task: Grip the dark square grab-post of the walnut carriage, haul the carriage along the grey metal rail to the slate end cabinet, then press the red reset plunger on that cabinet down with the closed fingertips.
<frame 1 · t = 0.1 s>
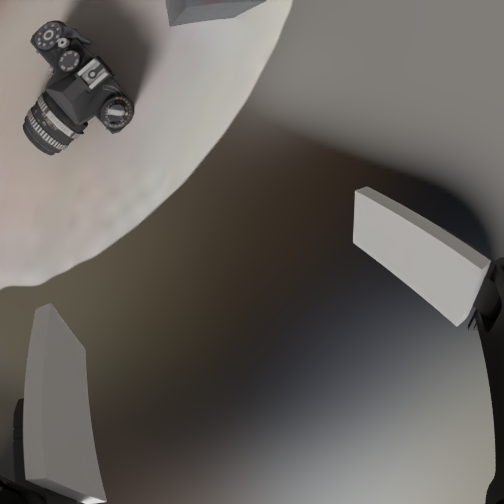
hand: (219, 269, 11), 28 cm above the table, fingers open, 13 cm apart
camera: (72, 95, 26), on the table
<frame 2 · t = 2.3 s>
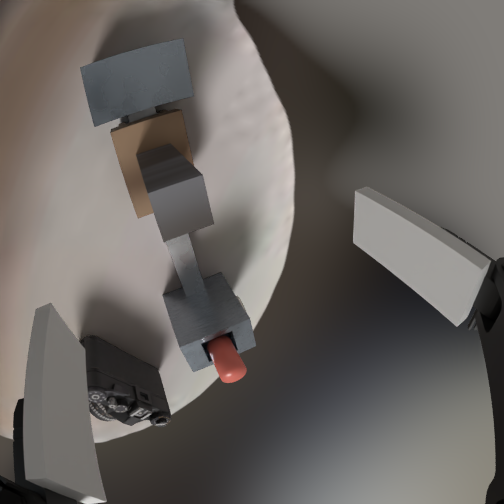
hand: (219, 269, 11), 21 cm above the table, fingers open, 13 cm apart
carriage: (162, 173, 21), point 8 cm above the table, slide at 0.0 cm
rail: (166, 206, 31), on the table
plunger: (226, 359, 30), point 11 cm above the table, slide at 0.0 cm
camera: (109, 368, 39), on the table
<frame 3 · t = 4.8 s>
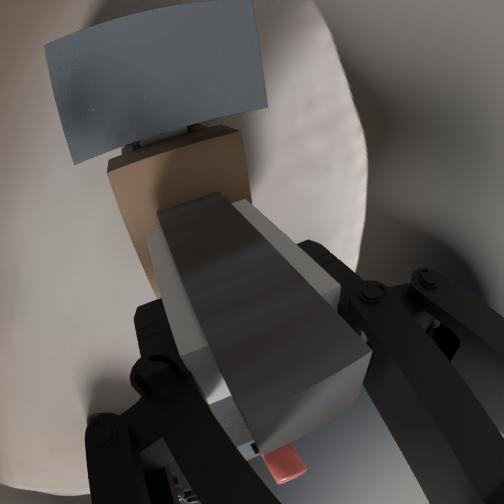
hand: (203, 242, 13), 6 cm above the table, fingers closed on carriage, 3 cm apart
carriage: (212, 257, 12), point 8 cm above the table, slide at 0.0 cm, touching gripper
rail: (198, 270, 21), on the table
plunger: (280, 457, 21), point 11 cm above the table, slide at 0.0 cm
camera: (125, 438, 29), on the table
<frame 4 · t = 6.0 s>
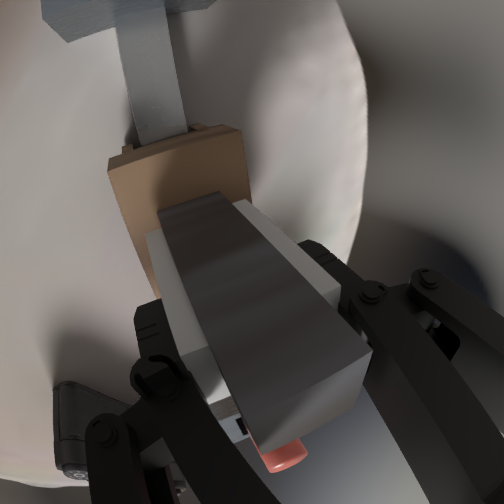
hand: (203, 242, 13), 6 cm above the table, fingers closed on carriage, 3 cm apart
carriage: (212, 257, 12), point 8 cm above the table, slide at 6.1 cm, touching gripper
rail: (175, 193, 18), on the table
plunger: (274, 438, 17), point 11 cm above the table, slide at 0.0 cm
camera: (99, 417, 26), on the table
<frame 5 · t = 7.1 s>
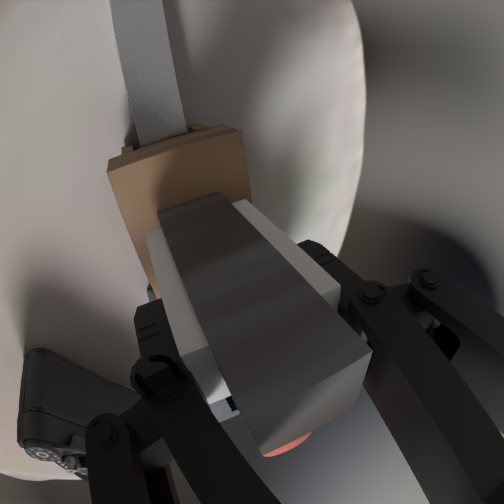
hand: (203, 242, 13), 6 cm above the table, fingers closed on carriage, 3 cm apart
carriage: (212, 257, 12), point 8 cm above the table, slide at 11.0 cm, touching gripper
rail: (155, 118, 15), on the table
plunger: (268, 411, 14), point 11 cm above the table, slide at 0.0 cm
camera: (77, 396, 23), on the table
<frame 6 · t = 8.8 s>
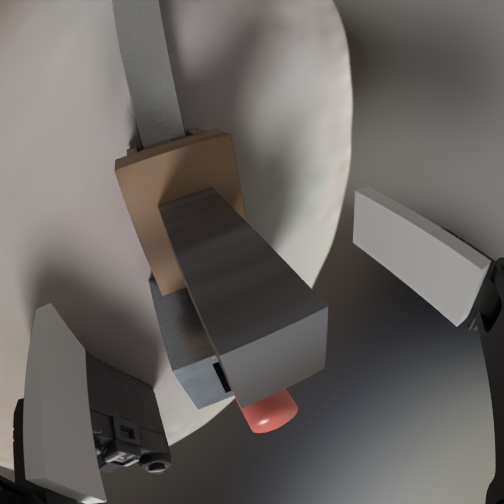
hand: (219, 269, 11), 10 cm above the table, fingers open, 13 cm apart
carriage: (205, 243, 14), point 8 cm above the table, slide at 11.0 cm
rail: (157, 123, 17), on the table
plunger: (258, 390, 16), point 11 cm above the table, slide at 0.0 cm
camera: (81, 383, 24), on the table
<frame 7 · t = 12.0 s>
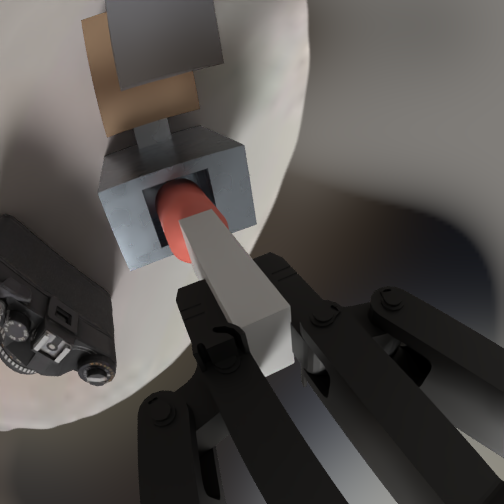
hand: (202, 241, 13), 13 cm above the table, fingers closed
carriage: (143, 56, 12), point 8 cm above the table, slide at 11.0 cm
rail: (125, 12, 15), on the table
plunger: (187, 216, 15), point 10 cm above the table, slide at 0.7 cm, touching gripper
camera: (36, 287, 22), on the table
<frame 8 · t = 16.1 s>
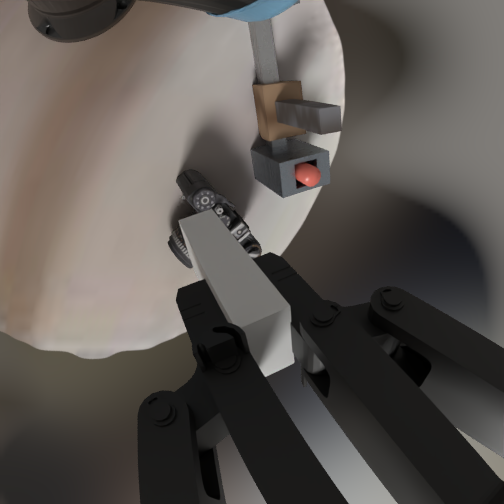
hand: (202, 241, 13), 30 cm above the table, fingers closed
carriage: (295, 112, 36), point 8 cm above the table, slide at 11.0 cm
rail: (264, 76, 39), on the table
plunger: (303, 172, 40), point 8 cm above the table, slide at 2.6 cm
camera: (195, 216, 46), on the table
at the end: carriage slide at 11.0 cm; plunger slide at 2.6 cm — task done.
